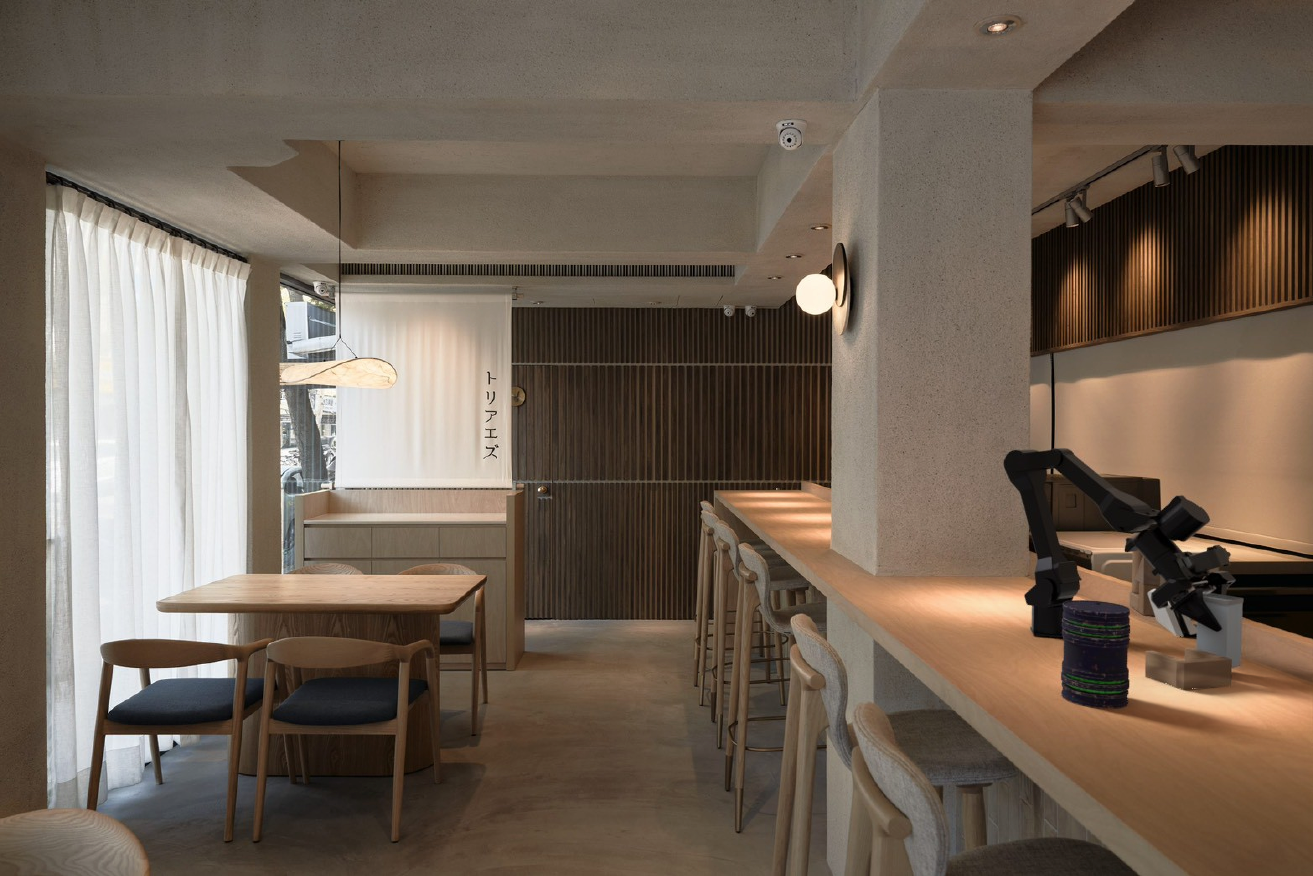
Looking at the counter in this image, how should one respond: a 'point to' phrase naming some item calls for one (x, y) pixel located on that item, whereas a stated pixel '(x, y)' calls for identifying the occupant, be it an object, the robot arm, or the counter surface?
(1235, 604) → the rail post
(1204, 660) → the block
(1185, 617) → the hinge
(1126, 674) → the storage jar
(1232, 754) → the counter surface
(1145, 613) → the wooden block
